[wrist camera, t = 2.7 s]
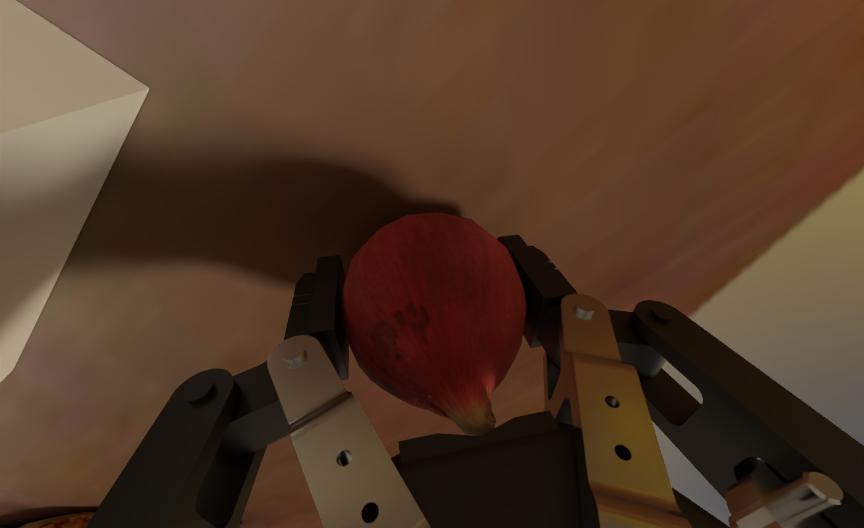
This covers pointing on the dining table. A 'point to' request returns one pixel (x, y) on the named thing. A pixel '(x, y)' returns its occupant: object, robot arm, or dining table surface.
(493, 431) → the robot arm
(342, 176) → the dining table surface
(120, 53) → the dining table surface
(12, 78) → the scale
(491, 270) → the onion
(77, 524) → the croissant
